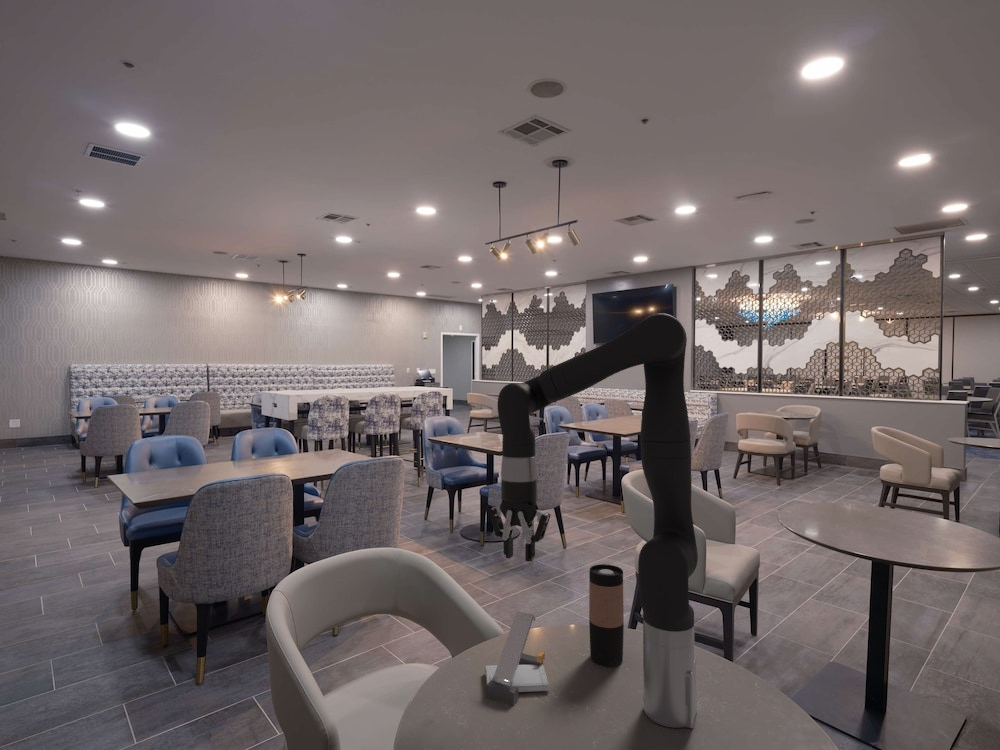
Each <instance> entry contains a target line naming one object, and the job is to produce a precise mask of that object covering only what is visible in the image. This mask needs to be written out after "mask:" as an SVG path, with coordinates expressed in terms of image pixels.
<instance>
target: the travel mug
mask: <svg viewBox="0 0 1000 750" xmlns="http://www.w3.org/2000/svg"><path fill="white" fill-rule="evenodd" d="M588 576H589V582H588V583H589V585H588V586H589V587H588V588H589V591H588V593H589V594H588V595H589V601H588V603H589V605H588V608H589V610H588V613H589V614H588V617H589V618H588V620H589V621H588V625H589V626H588V627H589V650H590V651H589V653H590V654H589V655H590V660H591V662H593V663H594V664H596V665H598V666H601V667H603V668H616V667H619V666H620V665H622V664H623V661H624V660H623V658H624V631H625V630H624V629H625V628H624V625H625V623H624V622H625V617H624V614H625V613H624V612H625V609H624V570H623V569H622V568H621V567H619V566H616V565H612V564H605V563H604V564H596V565H591V566H590V568H589V575H588Z"/></svg>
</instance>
